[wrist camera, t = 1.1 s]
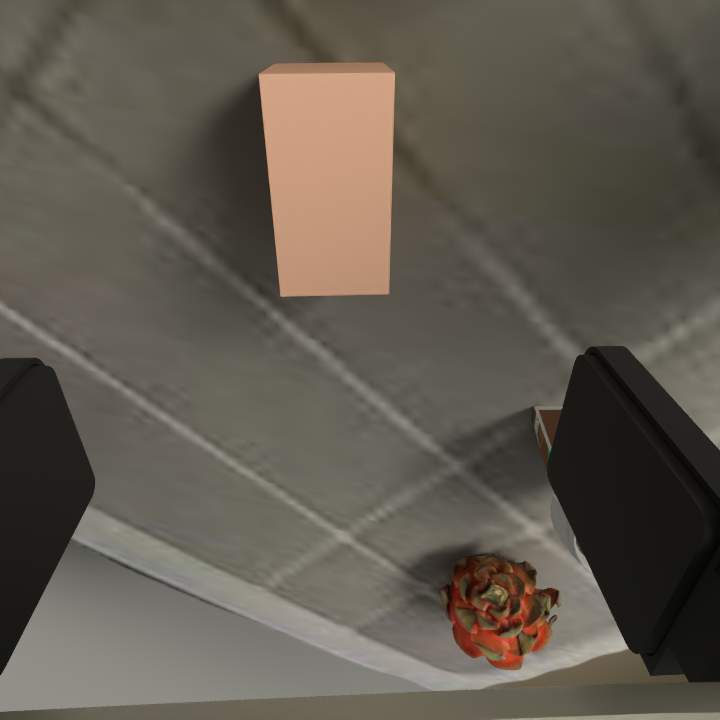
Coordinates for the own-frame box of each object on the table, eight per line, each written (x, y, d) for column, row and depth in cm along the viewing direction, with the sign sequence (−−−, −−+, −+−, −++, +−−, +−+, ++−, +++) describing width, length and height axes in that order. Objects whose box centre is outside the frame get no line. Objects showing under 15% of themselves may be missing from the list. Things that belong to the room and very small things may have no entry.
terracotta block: (382, 62, 24) (394, 72, 19) (380, 247, 29) (389, 294, 24) (274, 63, 24) (258, 73, 19) (290, 248, 29) (280, 296, 24)
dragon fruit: (454, 510, 43) (512, 562, 50) (396, 601, 42) (465, 641, 49) (541, 564, 37) (594, 614, 44) (477, 674, 35) (543, 709, 42)
